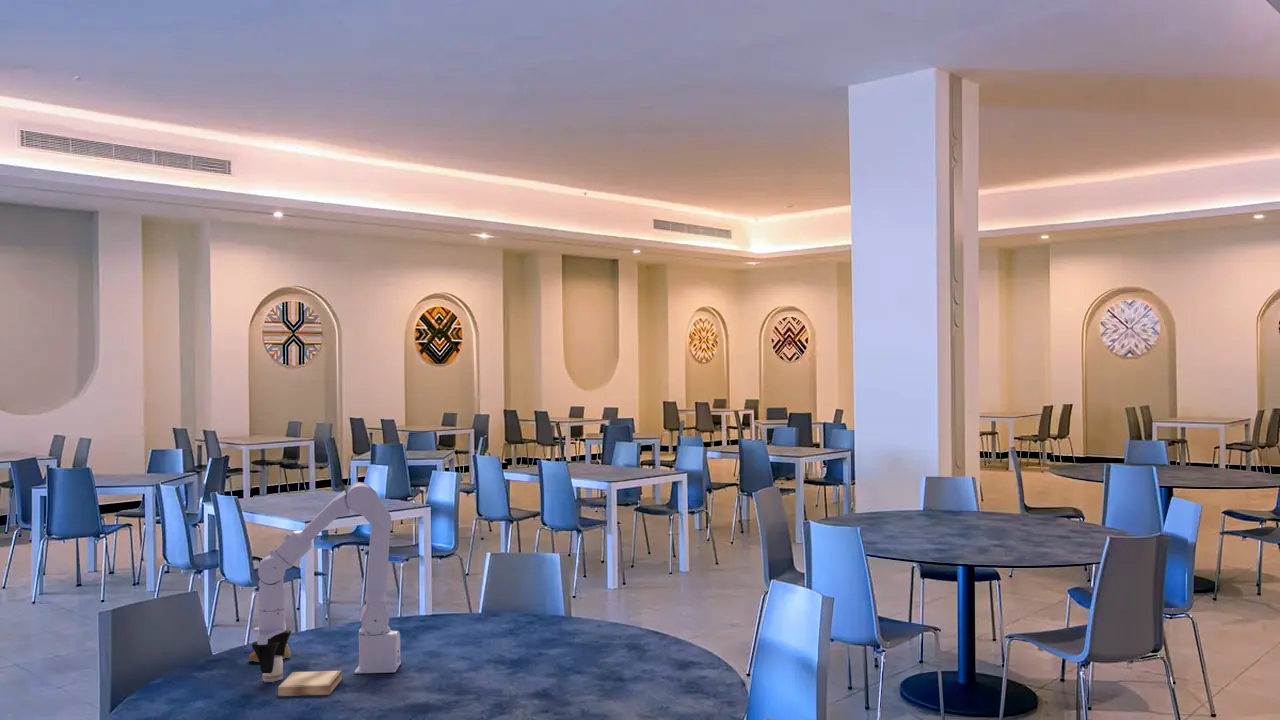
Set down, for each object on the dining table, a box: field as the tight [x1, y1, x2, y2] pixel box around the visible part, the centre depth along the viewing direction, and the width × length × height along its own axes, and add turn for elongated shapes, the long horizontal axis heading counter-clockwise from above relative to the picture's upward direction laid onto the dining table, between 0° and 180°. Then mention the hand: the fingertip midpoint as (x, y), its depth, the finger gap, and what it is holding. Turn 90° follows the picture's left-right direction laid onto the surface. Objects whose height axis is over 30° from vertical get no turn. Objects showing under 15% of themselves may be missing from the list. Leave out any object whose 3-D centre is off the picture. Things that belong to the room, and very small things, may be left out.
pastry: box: [248, 643, 292, 662], centre depth 250 cm, size 9×7×4 cm
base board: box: [277, 670, 343, 697], centre depth 226 cm, size 11×11×2 cm
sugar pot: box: [261, 655, 284, 682], centre depth 233 cm, size 4×4×5 cm
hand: (272, 668), depth 233 cm, fingers open, 7 cm apart
